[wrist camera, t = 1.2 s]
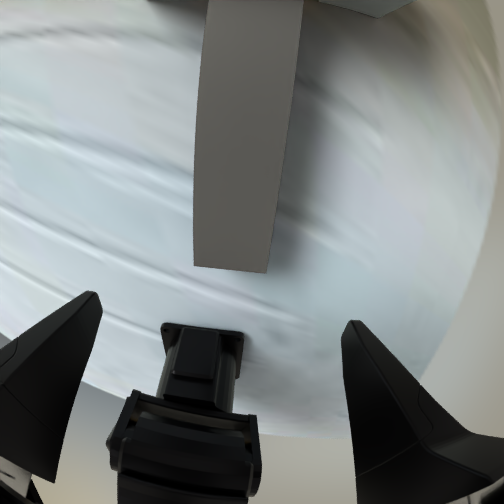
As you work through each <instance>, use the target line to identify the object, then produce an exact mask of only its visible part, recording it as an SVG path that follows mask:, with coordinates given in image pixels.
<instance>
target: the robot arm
mask: <svg viewBox="0 0 504 504" xmlns="http://www.w3.org/2000/svg"><path fill="white" fill-rule="evenodd" d="M102 313H103V309H102V306H101V302H100V299H99V296H98V294H97V293H96V292H93V291H85V292H84V293H82V294H81V295H79V296H78V297H76V298H74V299H73V300H71V301H70V302H68V303H67V304H65V305H64V306H62V307H61V308H59V309H58V310H56V311H55V312H53V313H52V314H50V315H49V316H47V317H46V318H44V319H43V320H41V321H40V322H38V323H37V324H35V325H34V326H33V327H31V328H30V329H28V330H27V331H25V332H24V333H23V334H21V335H20V336H19V337H17V338H15V339H14V340H13V341H11V342H10V343H9V344H7V345H6V346H4V347H3V348H1V349H0V504H43V502H42V500H41V498H40V496H39V494H38V492H37V490H36V488H35V485H34V483H33V481H32V479H31V476H32V474H34V475H36V476H38V477H40V478H43V479H45V480H47V481H49V482H52V483H55V479H56V474H57V468H58V463H59V459H60V454H61V449H62V445H63V439H64V436H65V432H66V428H67V425H68V421H69V417H70V414H71V411H72V407H73V404H74V400H75V397H76V394H77V391H78V388H79V385H80V382H81V379H82V376H83V373H84V370H85V368H86V365H87V362H88V359H89V357H90V354H91V351H92V348H93V345H94V342H95V338H96V334H97V331H98V327H99V324H100V320H101V317H102ZM160 330H161V335H162V340H163V344H164V349H165V353H166V360H165V364H164V367H163V371H162V375H161V378H160V382H159V386H158V389H157V393H156V397H154V396H151V395H147V394H144V393H141V391H138V390H135V389H133V391H132V393H131V396H130V397H127V399H126V402H125V405H124V407H123V410H122V412H121V414H120V417H119V419H118V421H117V423H116V425H115V427H114V428H113V430H112V432H111V433H110V435H109V437H108V438H107V441H106V446H107V448H108V450H109V451H110V466H111V469H112V470H115V471H117V472H118V476H117V477H118V478H117V479H118V480H117V498H118V499H117V500H118V504H248V497H253V496H255V494H256V493H257V491H258V488H259V485H260V481H261V473H262V461H261V451H260V443H259V433H258V424H257V416H256V415H252V414H248V415H243V414H236V413H232V410H233V397H234V385H235V379H238V378H239V375H240V367H241V360H242V352H243V345H244V334H243V333H241V332H236V331H227V330H218V329H209V328H201V327H193V326H186V325H179V324H172V323H163V324H162V325H161V329H160ZM341 348H342V365H343V379H344V386H345V393H346V399H347V406H348V413H349V421H350V428H351V437H352V444H353V455H354V465H355V476H356V491H357V504H504V438H498V437H492V436H486V435H480V434H475V433H472V432H470V431H468V430H467V429H465V428H464V427H463V426H462V425H461V424H460V423H459V422H457V420H455V419H454V418H453V417H452V416H451V415H450V414H449V413H448V412H447V411H446V410H445V409H444V408H442V406H441V405H440V404H438V403H437V402H436V401H435V400H434V398H433V397H432V396H431V395H430V394H429V393H428V392H427V391H426V390H425V389H424V388H423V387H422V386H421V385H420V383H419V382H418V381H417V380H416V379H415V378H414V377H413V376H412V374H411V373H410V372H409V371H408V370H407V369H406V368H405V367H404V366H403V365H402V364H401V363H400V361H399V360H398V359H397V358H396V357H395V356H394V355H393V354H392V353H391V352H390V351H389V350H388V349H387V347H386V346H385V345H384V344H383V343H382V342H381V341H380V340H379V339H378V338H377V337H376V336H375V335H374V334H373V333H372V332H371V331H370V330H369V328H368V327H367V326H366V325H365V324H364V323H363V322H362V321H360V320H350V321H349V322H348V323H347V326H346V328H345V330H344V332H343V334H342V337H341Z"/></svg>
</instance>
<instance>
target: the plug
mask: <svg viewBox="0 0 504 504" xmlns="http://www.w3.org/2000/svg"><path fill="white" fill-rule="evenodd" d="M303 3H304V0H209V2H208V9H207V16H206V23H205V31H204V39H203V47H202V56H201V66H200V77H199V88H198V101H197V116H196V133H195V155H194V190H193V251H194V266H199V267H208V268H217V269H226V270H236V271H246V272H256V273H266V270H267V264H268V258H269V252H270V246H271V239H272V233H273V227H274V220H275V214H276V207H277V201H278V194H279V187H280V181H281V174H282V167H283V160H284V153H285V146H286V139H287V132H288V125H289V117H290V110H291V102H292V95H293V87H294V79H295V72H296V64H297V55H298V47H299V39H300V30H301V22H302V13H303Z"/></svg>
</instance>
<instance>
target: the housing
mask: <svg viewBox="0 0 504 504" xmlns="http://www.w3.org/2000/svg"><path fill="white" fill-rule="evenodd" d="M414 1H416V0H318V2H322V3H327V4H331V5H335V6H339V7H343V8H346V9H350V10H353V11H357V12H360V13H363V14H366V15H369V16H372V17H375V18H380V17H382V16H384V15H386V14H388V13H390V12H392V11H394V10H396V9H398V8H400V7H402V6H405V5H407V4H409V3H411V2H414Z"/></svg>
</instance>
